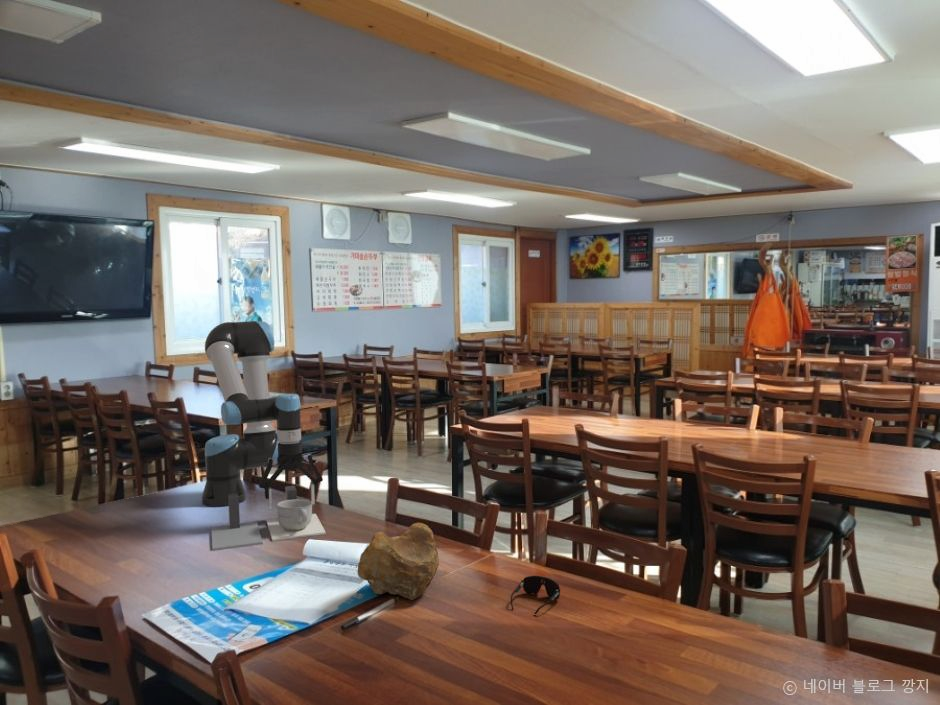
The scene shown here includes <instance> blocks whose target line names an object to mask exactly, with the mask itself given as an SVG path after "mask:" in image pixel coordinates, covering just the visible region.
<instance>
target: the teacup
mask: <svg viewBox="0 0 940 705" xmlns="http://www.w3.org/2000/svg"><path fill="white" fill-rule="evenodd" d="M313 505H314V504H313V503H312V502H311V500H309V499H298V498H297V499H296V500H286V499H285V500H282V501H278V503H277V504H276V506H277V518H278V522H279V524H280V525H281V526H282V527H283V528H284V529H287V530H300V529H303V528H305V527H306V526H307V525H308V524H309V523H310V522H311V518H312V514H313Z"/></svg>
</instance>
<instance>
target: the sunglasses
mask: <svg viewBox="0 0 940 705" xmlns="http://www.w3.org/2000/svg"><path fill="white" fill-rule="evenodd" d="M542 586H544V588H545V592H546V595H547V597H548V596H549V597H551V598H549V597H548V598H549V599H548V601H546V602H544V604H542V605H541V606H539V607H538V608H537V609H536V610H535V612H534V613H533V614H538V612H539V611H540V610H541V609H542V608H543V607H545V606H546V605H548V604H549V603H550V602H551V601H552V602H553V601H555V600H554V599H556V600H559V598H560V596H561V587H560V585H559V583H558V582H556V581H555V580H554V579H552V578H549V577H545V576H543V575H529V576H525V577H524V578H523V579H522V580H521V581H520V583H519V584H518V585H517V587H516V588H515V590H513V592H511V595H510V605H511V610H512V609H514V606H513V596H514V594H515V593H516V594H517V593H518V592H519V591H520V589H522V588H523V591H524V592H525V593H526V594H528V593H535V594H534V595H537V594H539V592H540V590H541V588H542Z"/></svg>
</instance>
